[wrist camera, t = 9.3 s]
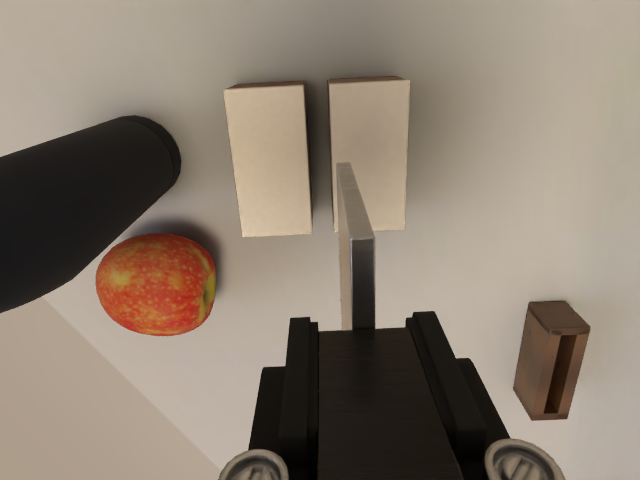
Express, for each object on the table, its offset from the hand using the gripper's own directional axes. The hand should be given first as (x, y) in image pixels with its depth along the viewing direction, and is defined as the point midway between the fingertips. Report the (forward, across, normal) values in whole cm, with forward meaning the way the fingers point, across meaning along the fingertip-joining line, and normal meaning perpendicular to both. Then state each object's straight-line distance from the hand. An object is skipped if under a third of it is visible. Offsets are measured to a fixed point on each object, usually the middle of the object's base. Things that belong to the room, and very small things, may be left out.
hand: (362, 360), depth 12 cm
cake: (+23, +4, -1) cm, 24 cm away
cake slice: (+23, -2, -1) cm, 24 cm away
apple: (+24, +14, +8) cm, 29 cm away
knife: (+8, 0, 0) cm, 8 cm away
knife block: (+23, -19, +19) cm, 36 cm away
